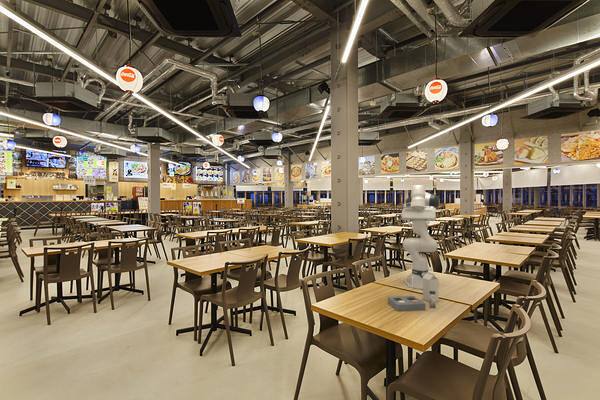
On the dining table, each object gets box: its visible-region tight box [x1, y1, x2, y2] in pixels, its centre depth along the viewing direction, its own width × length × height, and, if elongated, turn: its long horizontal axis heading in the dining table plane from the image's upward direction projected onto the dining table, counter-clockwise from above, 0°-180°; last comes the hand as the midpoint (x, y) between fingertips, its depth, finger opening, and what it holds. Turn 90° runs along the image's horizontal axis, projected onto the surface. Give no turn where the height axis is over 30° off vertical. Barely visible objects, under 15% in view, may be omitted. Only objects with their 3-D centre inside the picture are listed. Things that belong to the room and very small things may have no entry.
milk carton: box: [422, 271, 440, 303], centre depth 198 cm, size 7×7×19 cm
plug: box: [429, 291, 437, 309], centre depth 185 cm, size 4×4×10 cm
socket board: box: [387, 295, 427, 312], centre depth 187 cm, size 16×18×4 cm
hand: (418, 226), depth 179 cm, fingers open, 8 cm apart
